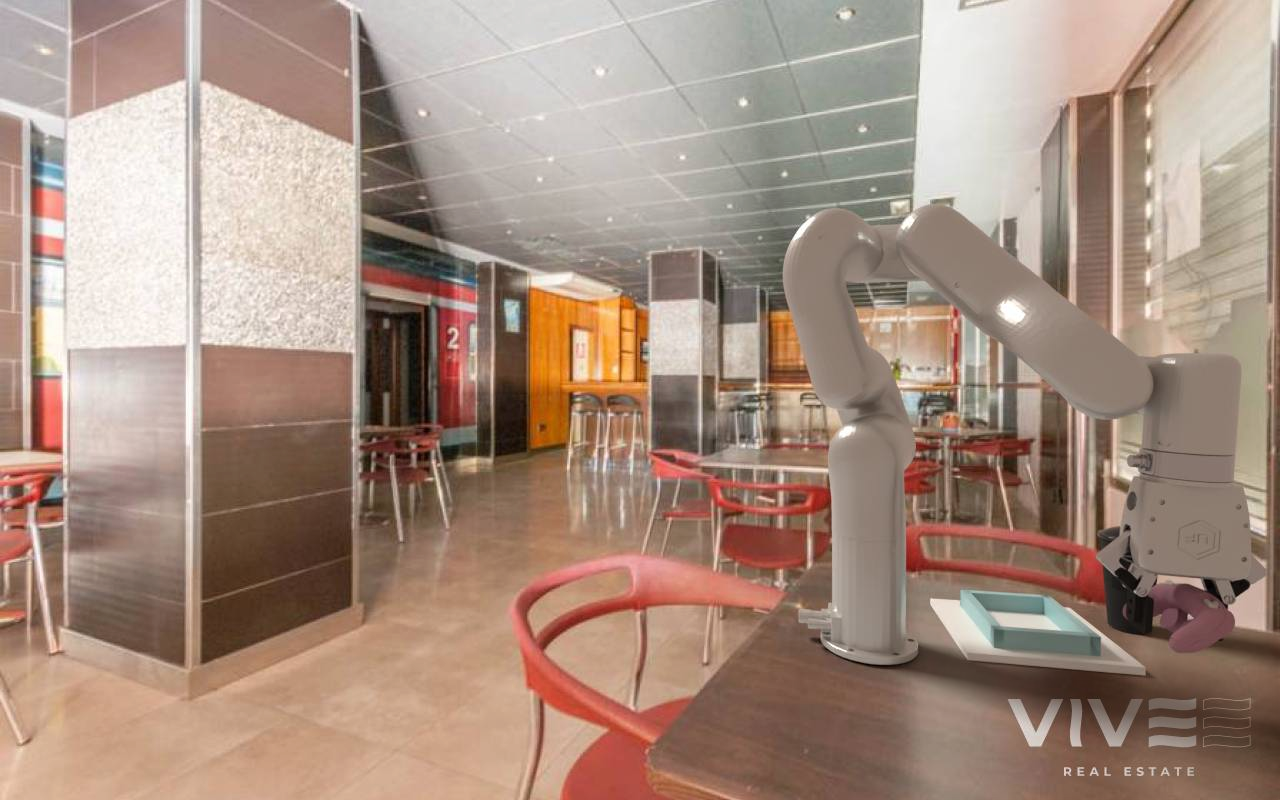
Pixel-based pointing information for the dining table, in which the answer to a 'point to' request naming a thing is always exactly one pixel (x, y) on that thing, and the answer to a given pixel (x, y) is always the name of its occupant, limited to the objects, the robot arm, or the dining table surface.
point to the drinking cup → (1116, 587)
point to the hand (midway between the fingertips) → (1174, 630)
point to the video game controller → (1201, 605)
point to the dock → (1029, 633)
